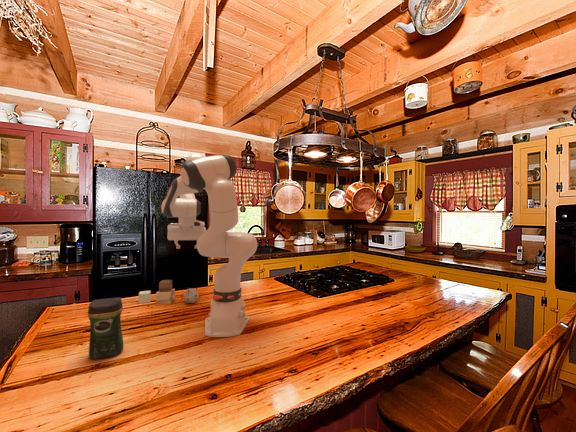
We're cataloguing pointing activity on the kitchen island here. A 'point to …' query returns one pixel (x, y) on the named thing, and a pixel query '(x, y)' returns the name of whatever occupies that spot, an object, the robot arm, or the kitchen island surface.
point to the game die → (191, 295)
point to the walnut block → (165, 286)
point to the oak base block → (165, 297)
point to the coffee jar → (105, 328)
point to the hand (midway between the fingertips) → (187, 248)
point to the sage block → (144, 297)
